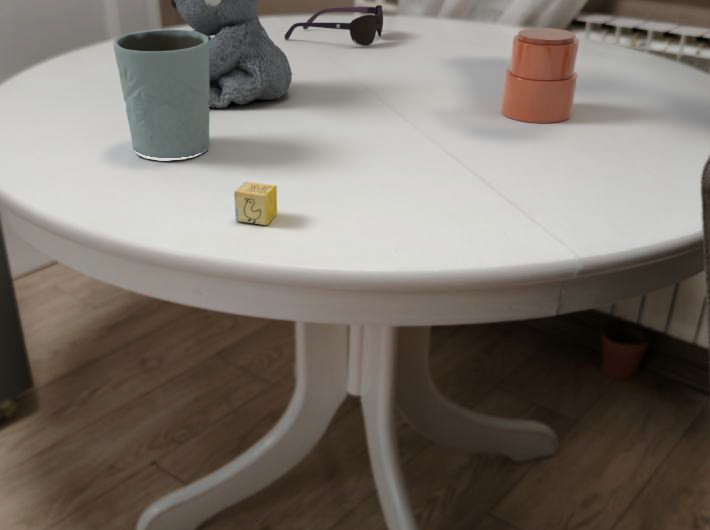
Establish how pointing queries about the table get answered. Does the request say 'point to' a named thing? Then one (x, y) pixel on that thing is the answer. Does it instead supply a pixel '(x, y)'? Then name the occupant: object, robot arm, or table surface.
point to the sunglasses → (351, 24)
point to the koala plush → (237, 51)
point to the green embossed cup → (165, 90)
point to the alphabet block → (255, 203)
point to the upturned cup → (541, 76)
